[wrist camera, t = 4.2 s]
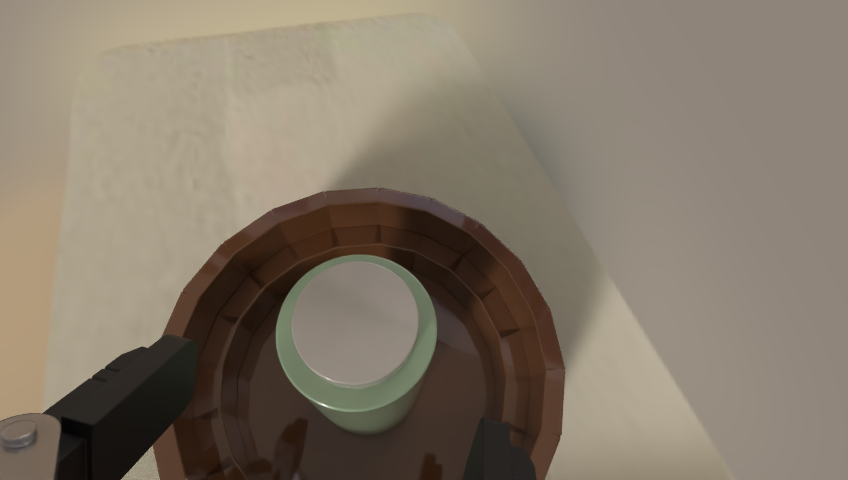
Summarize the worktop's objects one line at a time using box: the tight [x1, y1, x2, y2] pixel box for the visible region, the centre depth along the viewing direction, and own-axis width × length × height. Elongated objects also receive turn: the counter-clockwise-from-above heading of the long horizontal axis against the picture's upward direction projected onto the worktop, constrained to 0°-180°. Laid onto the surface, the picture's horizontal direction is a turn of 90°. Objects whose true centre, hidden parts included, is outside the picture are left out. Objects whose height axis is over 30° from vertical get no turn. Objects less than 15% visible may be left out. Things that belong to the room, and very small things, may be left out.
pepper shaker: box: [275, 255, 437, 436], centre depth 18 cm, size 5×5×10 cm
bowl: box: [153, 188, 565, 480], centre depth 21 cm, size 16×16×5 cm
